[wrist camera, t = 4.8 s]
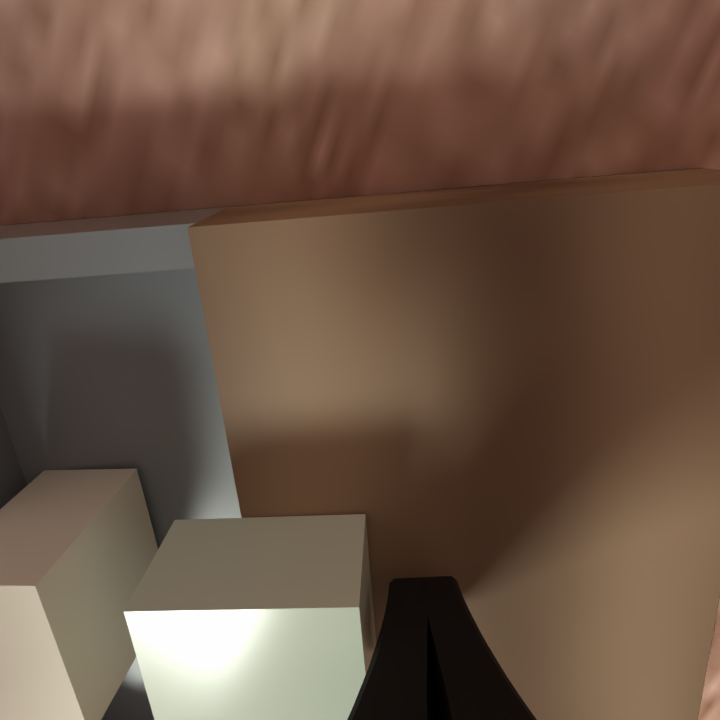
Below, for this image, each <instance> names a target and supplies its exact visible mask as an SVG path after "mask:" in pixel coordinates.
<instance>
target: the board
mask: <svg viewBox="0 0 720 720" xmlns="http://www.w3.org/2000/svg"><path fill="white" fill-rule="evenodd" d="M187 228H188V233H189V239H190V244H191V249H192V255H193V260H194V265H195V271H196V276H197V282H198V287H199V292H200V298H201V303H202V308H203V314H204V319H205V324H206V330H207V335H208V341H209V346H210V351H211V357H212V362H213V367H214V373H215V378H216V383H217V389H218V394H219V400H220V405H221V410H222V416H223V421H224V426H225V432H226V437H227V443H228V448H229V453H230V459H231V464H232V469H233V475H234V480H235V485H236V491H237V496H238V502H239V507H240V512H241V518H252V517H285V516H318V515H351V514H366V526H367V538H368V550H369V562H370V574H371V586H372V598H373V610H374V622H375V634H376V643H377V640H378V637H379V633H380V630H381V626H382V622H383V618H384V614H385V610H386V605H387V599H388V592H389V583H390V582H391V581H392V580H393V579H395V578H416V577H438V576H452V577H454V578H455V579H456V580H457V582H458V585H459V588H460V590H461V593H462V595H463V598H464V600H465V602H466V604H467V606H468V608H469V611H470V613H471V615H472V617H473V618H474V620H475V622H476V624H477V626H478V628H479V630H480V632H481V634H482V635H483V637H484V639H485V641H486V643H487V644H488V646H489V648H490V649H491V651H492V653H493V654H494V656H495V658H496V659H497V661H498V663H499V664H500V666H501V668H502V669H503V671H504V672H505V674H506V675H507V677H508V679H509V680H510V682H511V683H512V685H513V686H514V688H515V689H516V691H517V692H518V694H519V695H520V697H521V698H522V699H523V701H524V702H525V704H526V705H527V707H528V708H529V710H530V711H531V712H532V714H533V715H534V716H535V718H536V719H537V720H698V716H699V710H700V704H701V699H702V693H703V688H704V682H705V676H706V671H707V665H708V660H709V654H710V648H711V643H712V637H713V631H714V626H715V620H716V615H717V609H718V603H719V598H720V170H712V169H703V168H693V169H681V170H669V171H657V172H645V173H633V174H621V175H609V176H596V177H584V178H572V179H560V180H548V181H536V182H524V183H512V184H499V185H487V186H475V187H463V188H451V189H439V190H427V191H415V192H403V193H390V194H378V195H366V196H354V197H342V198H330V199H318V200H306V201H293V202H281V203H269V204H257V205H245V206H233V207H228V208H226V209H224V210H221V211H219V212H217V213H215V214H213V215H211V216H209V217H207V218H205V219H203V220H201V221H199V222H197V223H195V224H193V225H191V226H189V227H187Z"/></svg>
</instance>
